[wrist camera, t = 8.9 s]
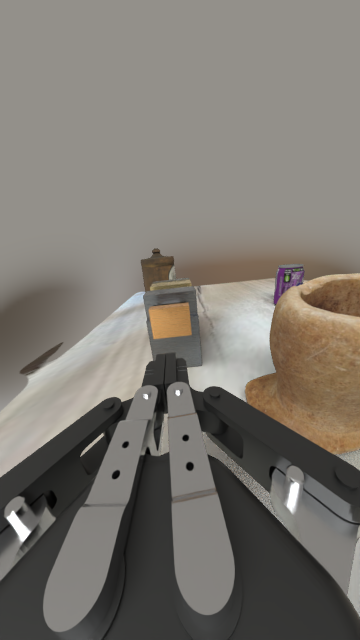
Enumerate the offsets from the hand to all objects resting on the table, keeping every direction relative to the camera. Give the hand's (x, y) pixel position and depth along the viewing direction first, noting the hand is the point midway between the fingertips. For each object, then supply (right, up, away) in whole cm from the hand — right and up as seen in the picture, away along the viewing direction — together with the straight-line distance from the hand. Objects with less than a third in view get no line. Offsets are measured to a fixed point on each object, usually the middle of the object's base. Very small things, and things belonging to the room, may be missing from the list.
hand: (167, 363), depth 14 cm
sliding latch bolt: (0, +4, +17) cm, 18 cm away
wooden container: (-7, +14, +70) cm, 72 cm away
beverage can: (+34, +8, +41) cm, 54 cm away
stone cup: (+17, -7, +5) cm, 19 cm away
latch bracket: (0, -2, +23) cm, 24 cm away
